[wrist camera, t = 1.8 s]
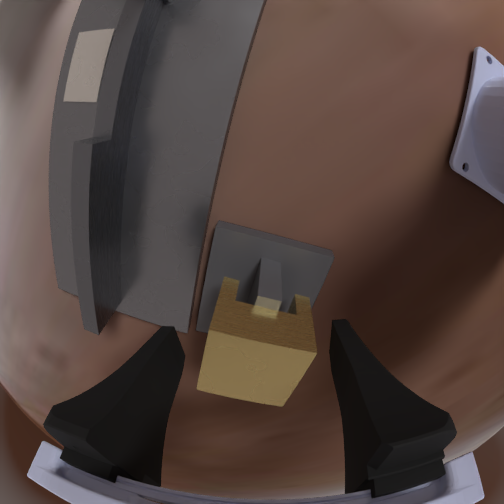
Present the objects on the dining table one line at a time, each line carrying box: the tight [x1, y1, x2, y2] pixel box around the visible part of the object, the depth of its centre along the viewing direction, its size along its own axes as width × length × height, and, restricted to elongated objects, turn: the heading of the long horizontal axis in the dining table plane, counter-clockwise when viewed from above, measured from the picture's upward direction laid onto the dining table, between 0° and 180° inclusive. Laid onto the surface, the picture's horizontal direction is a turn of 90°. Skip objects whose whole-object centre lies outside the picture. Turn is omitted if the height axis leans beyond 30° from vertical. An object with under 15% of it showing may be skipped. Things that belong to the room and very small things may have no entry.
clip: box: [197, 276, 317, 407], centre depth 12 cm, size 4×4×4 cm
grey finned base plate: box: [196, 220, 334, 333], centre depth 14 cm, size 6×7×4 cm
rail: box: [49, 0, 267, 335], centre depth 10 cm, size 10×21×5 cm, turn 166°
